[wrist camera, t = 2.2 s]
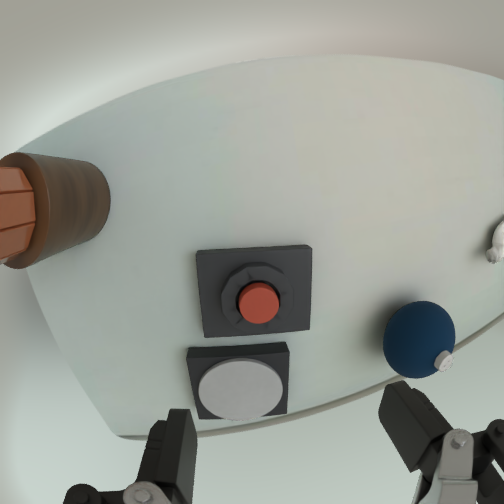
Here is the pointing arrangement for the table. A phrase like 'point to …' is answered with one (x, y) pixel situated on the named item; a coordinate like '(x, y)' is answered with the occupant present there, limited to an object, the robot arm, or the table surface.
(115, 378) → the table surface
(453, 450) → the robot arm
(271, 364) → the scale
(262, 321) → the button
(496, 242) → the figurine
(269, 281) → the red push button box
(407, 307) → the christmas ornament
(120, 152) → the table surface
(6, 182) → the orange wooden cup
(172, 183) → the table surface
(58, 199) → the stand
